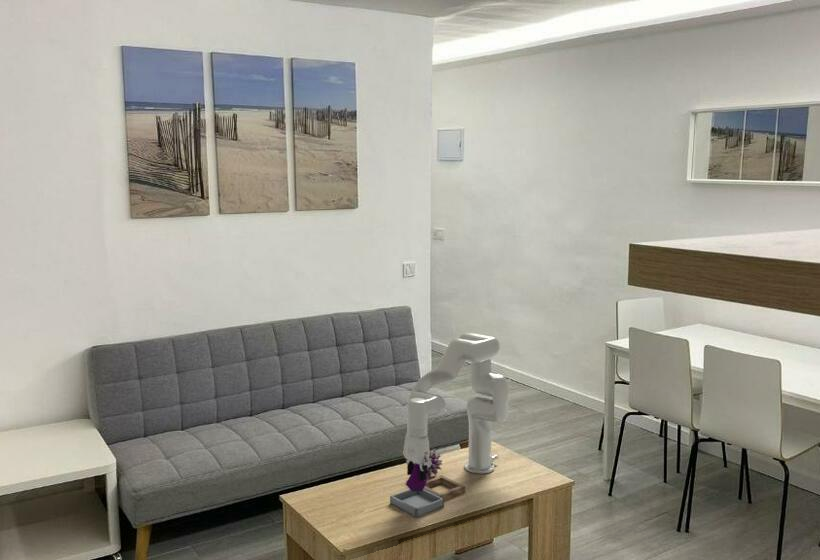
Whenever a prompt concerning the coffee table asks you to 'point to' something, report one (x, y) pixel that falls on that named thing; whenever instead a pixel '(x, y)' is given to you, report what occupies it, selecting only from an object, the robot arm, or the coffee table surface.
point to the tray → (417, 502)
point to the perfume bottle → (416, 480)
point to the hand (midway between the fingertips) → (416, 476)
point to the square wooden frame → (448, 482)
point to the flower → (433, 463)
